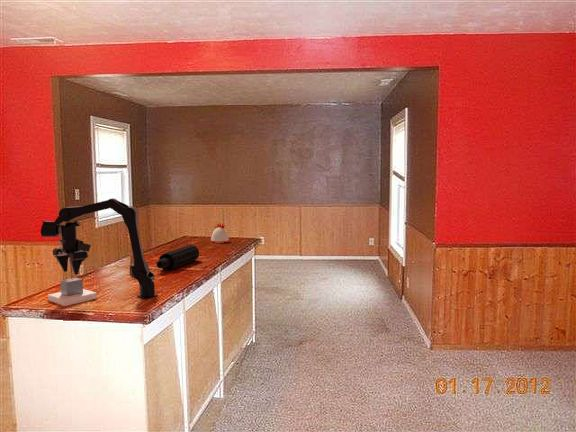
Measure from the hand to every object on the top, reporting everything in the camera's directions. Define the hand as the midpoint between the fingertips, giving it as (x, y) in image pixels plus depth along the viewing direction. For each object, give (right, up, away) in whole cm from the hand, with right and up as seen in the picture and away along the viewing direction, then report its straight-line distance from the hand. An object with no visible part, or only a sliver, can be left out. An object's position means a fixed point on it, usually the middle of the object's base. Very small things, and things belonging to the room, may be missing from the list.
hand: (70, 273), depth 191 cm
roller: (+28, -5, +69) cm, 75 cm away
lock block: (0, -9, +1) cm, 9 cm away
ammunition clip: (+10, -7, +52) cm, 54 cm away
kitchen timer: (+39, +4, +159) cm, 164 cm away
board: (0, -11, +1) cm, 12 cm away
